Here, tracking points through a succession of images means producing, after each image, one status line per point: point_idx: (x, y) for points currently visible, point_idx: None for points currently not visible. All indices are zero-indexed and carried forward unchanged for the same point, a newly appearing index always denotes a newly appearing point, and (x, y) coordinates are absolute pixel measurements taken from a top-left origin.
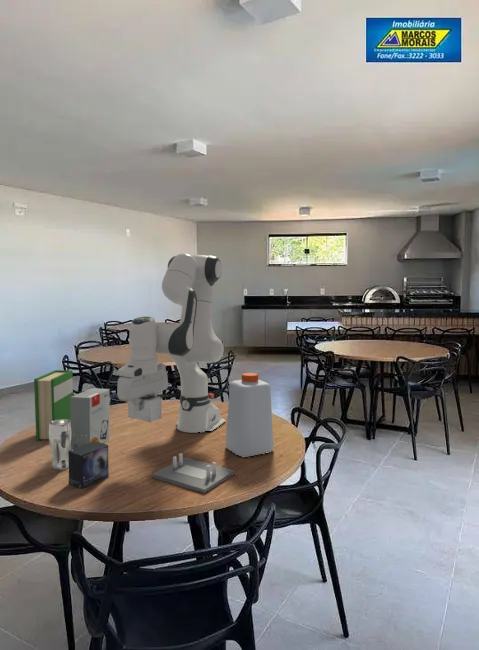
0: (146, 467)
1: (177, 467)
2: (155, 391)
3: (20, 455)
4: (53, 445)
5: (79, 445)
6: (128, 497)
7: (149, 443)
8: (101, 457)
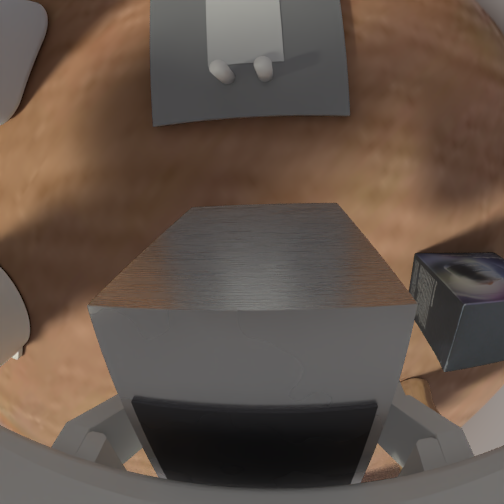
0: (292, 201)
1: (246, 77)
2: (79, 470)
3: (382, 472)
4: None
5: None
6: (477, 98)
7: None
8: (478, 280)
